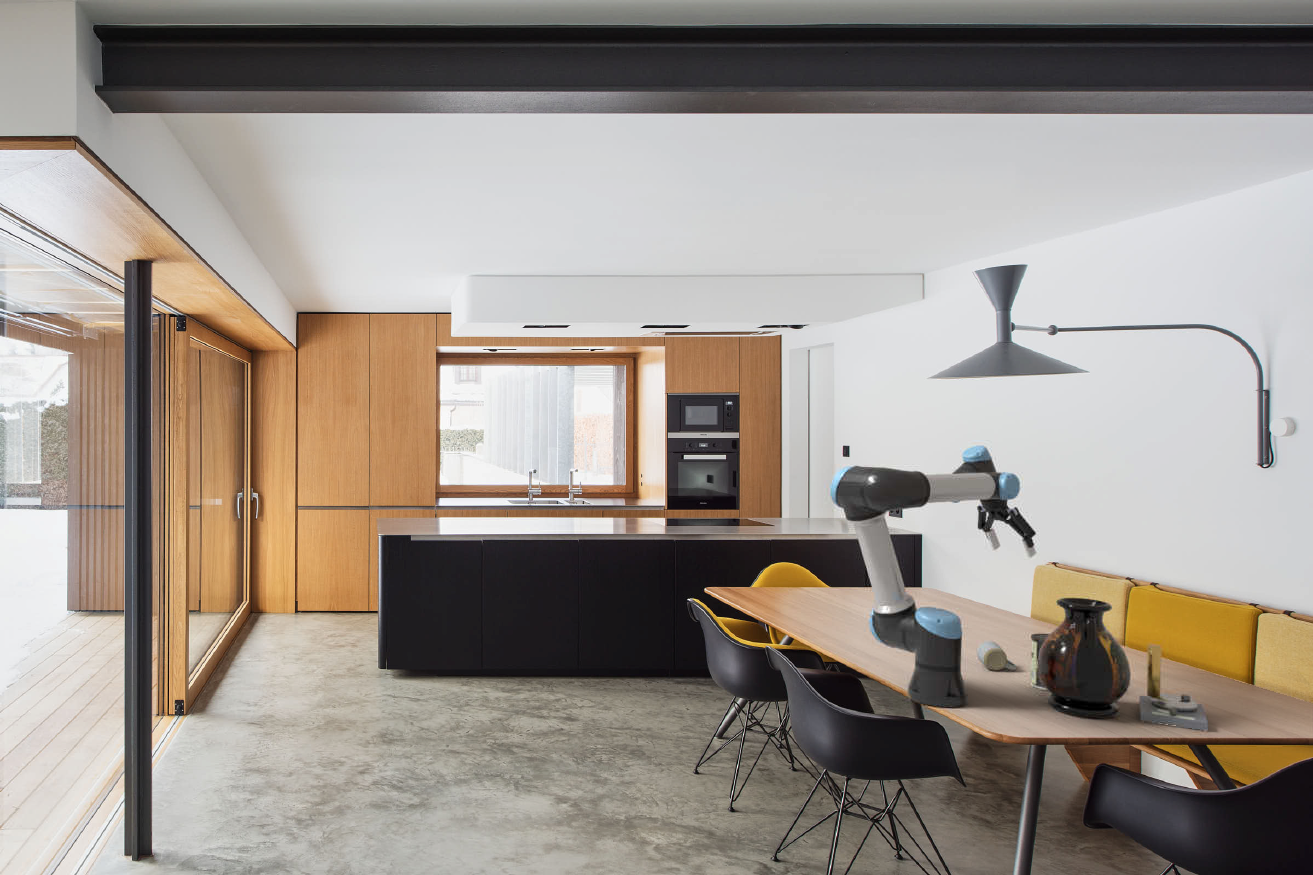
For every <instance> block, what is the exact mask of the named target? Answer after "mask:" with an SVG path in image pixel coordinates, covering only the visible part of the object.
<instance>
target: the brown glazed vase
mask: <svg viewBox="0 0 1313 875" xmlns="http://www.w3.org/2000/svg"><path fill="white" fill-rule="evenodd" d="M1056 605H1057V606H1059V607H1060V608H1063V609H1064V610H1063V611H1064V619H1063V620H1062V622H1061V623H1060V625H1058V626H1057V627H1056V628H1055V629H1054V630H1053V631H1052V632H1051V633H1049V634H1050V635H1048V637H1047V638H1046V639H1045V641H1044V643H1043V644H1042V646H1041V649H1040V652H1039V656H1038V674H1039V677H1040V680H1041V682H1042V683H1043V685H1044V686H1045V687H1046V689H1047V690H1048V691H1047V692H1049V693H1050V695H1049V696H1048V697H1047V703H1048V705H1049V706H1050V707H1051V708H1052V709H1055V710H1057V711H1058V712H1060V713H1064V714H1067V715H1070V716H1076V717H1080V718H1088V719H1107V718H1108V719H1109V718H1112V717H1115V716H1116V715H1118V714H1119V710H1120V709H1119V707H1118V705H1117V704H1116V703H1117V702H1118V701H1119V700H1121V698H1122V697H1123V696H1124V695H1125V694H1126V692H1127V691H1128V690H1129V687H1130V685H1131V674H1132V673H1131V668H1130V663H1129V660H1128V657H1127V654H1126V652H1125V650H1124V649H1123V646H1122V645H1121V644H1120V642H1119V641H1118V640H1117V639H1116V638H1115V636H1113V635H1112V633H1111V632H1110V631H1109V630H1108V629H1107V627H1106V626H1105V625H1104V621H1103V618H1104V615H1105V614H1104V613H1106V612H1109V611H1111V610H1112V609H1113V605H1112V604H1110V603H1109V602H1106V601H1102V600H1097V599H1090V598H1081V597H1078V598H1077V597H1062V598H1059V599H1057V600H1056Z"/></svg>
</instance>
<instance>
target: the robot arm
mask: <svg viewBox="0 0 1313 875" xmlns="http://www.w3.org/2000/svg"><path fill="white" fill-rule="evenodd" d="M962 461H963V463H962V464H961V465H960V466H959V467H958V468H957V469H955V470H954V471H953V472H952V473H942V474H941V473H940V474H938V473H936V474H934V473H933V474H925V473H923V472H922V471H919V470H910V471H909V470H902V469H895V468H890V467H880V466H879V467H876V466H875V467H874V466H860V465H853V466H845V467H843V468H841V469H839V470H838V471H837V472H836V473H835V474H834V476H833V479H832V481H831V483H830V492H829V493H830V498H831V501H832V502H833V504H835V505H836V506H837V507H839V508H841V509H842V510H843V513H844V515H845V519H846V521H847V522H849V523H851V524H853V526H854V531H855V533H856V536H857V540H858V543H859V547H860V551H861V553H862V558H863V562H864V564H865V567H866V568H865V569H866V570H867V574H868V578H869V581H870V584H871V585H870V586H871V588H872V591H873V595H874V598H875V600H874V602H873V604H872V608H871V611H870V614H869V615H870V617H869V618H868V625H869V626H868V627H869V630H870V633H871V635H872V636H873V637H874V639H875V640H877V641H878V642H879V643H880V644H883V645H885V646H886V647H890V648H893V649H897V650H898V649H899V650H902V651H905V652H908V653H912V654H914V670H913V672H912V675H911V678H910V680H909V682H908V686H907V697H908V699H910V700H911V701H913V702H916V703H919V704H922V705H926V706H930V707H931V705H933V706H932V707H939V708H957V707H964V706H966V705H967V704H968V692H967V688H966V684H965V681H964V679H963V674H962V645H963V644H962V642H963V640H962V638H963V637H962V636H963V630H962V621H961V618H960V617H959V615H957V614H956V613H954V612H952V611H950V610H947V609H944V608H937V607H933V606H922V607H917V605H916V602H915V598H914V596H912V595H911V594H909V593H907V591H906V587H905V584H904V580H903V577H902V573H901V570H900V566H899V563H898V559H897V558H898V557H897V555H896V552H895V549H894V545H893V541H892V538H891V534H890V531H889V528H888V523H887V521H886V517H885V516H886V514H887V513H888V512H893V511H900V510H907V509H915V508H921V507H924V506H926V505H927V504H933V503H934V504H935V503H950V502H951V503H953V504H957V503H960V502H963V501H964V502H965V501H979V502H980V504H979V505H978V506H976V509H977V513H978V515H977V529H978V530H982V531H983V533H984V534H985V536H986V538H987V540H988V542H989V543H990V546H991V548H992V551H996V550H998V549H999V548H1000V547H1001V544H1000V541H999V539H998V536H997V534H996V531H995V528H993V525H994V522H995V521H997V522H998V521H999V522H1003V523H1004V524H1005V525H1008V526H1010V528H1012V530H1013V531H1015V532H1016V533H1017V534H1018V535H1019V536H1020V537H1021V542H1022V544H1023V547H1024V549H1025V551H1026V555H1027V557H1028V558H1029V559H1030V558H1032V557H1034V556H1035V555H1036V554H1037V551H1036V549H1035V543H1034V539H1033V537H1034V536H1036V535H1037V533H1036V531H1035V530H1034V528H1033V527H1032V526H1031V525H1030V524H1029V523H1028V521H1027V520H1026V518H1024V516H1022V514H1021V513H1020V511H1019V509H1018V507H1016V506H1015V507H1013V508H1010V507H1009V506H1008V500H1010V501H1011V500H1014V499H1016V498H1017V497H1018V496H1019V493H1020V490H1021V486H1020V485H1021V481H1020V479H1019V477H1018V476H1017V475H1016V474H1015V473H1012V472H1005V471H1004V472H1001V471H1000V472H999V471H998V472H997V469H996V466H995V464H994V461H993V457H992V455H991V454H990V452H989V450H988V448H987V447H986V446H984V445H974V446H971V447H969V448H967V449H965V450H963V452H962ZM987 515H988V516H987ZM908 695H909V696H910V697H911V698H910V697H909V696H908ZM929 704H930V705H929Z"/></svg>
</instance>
